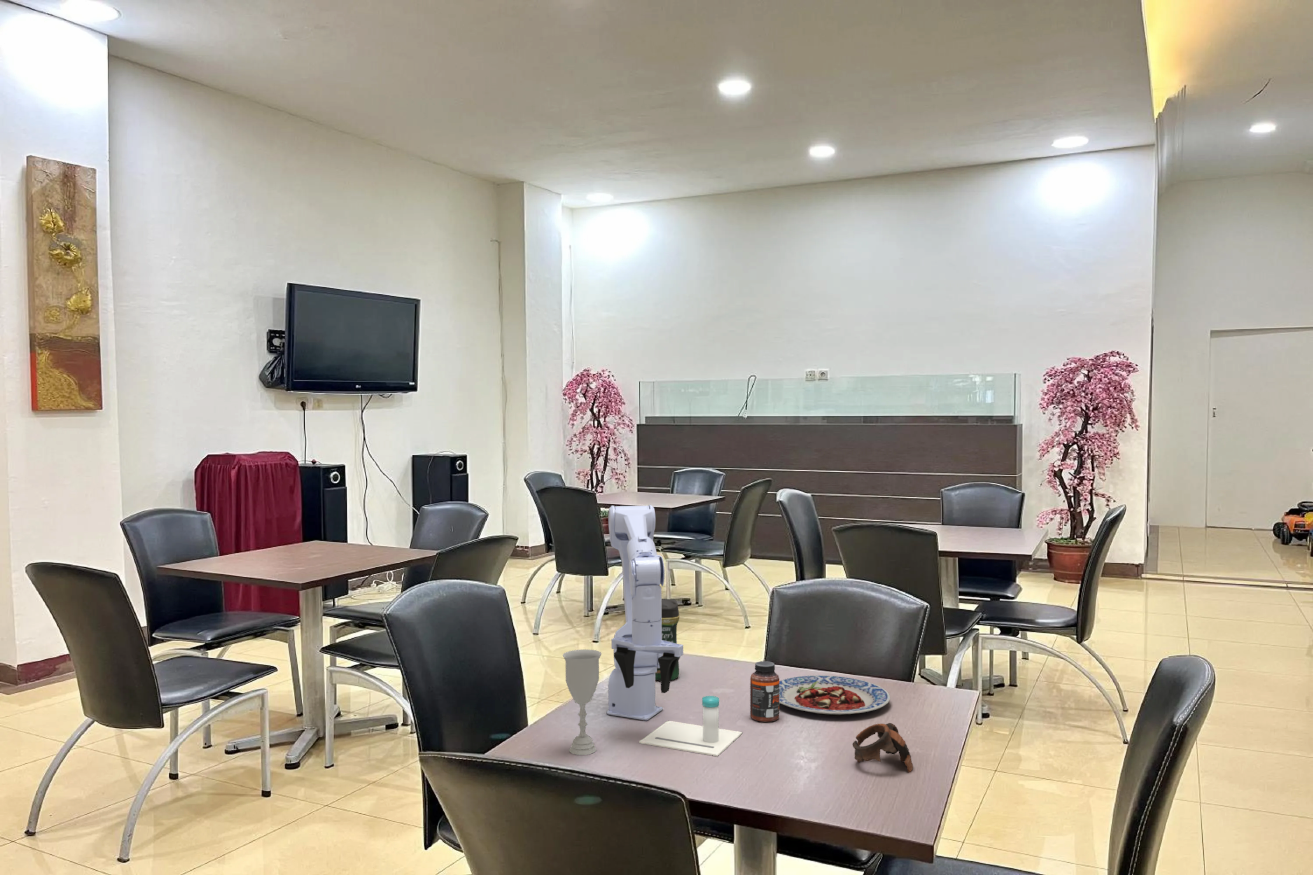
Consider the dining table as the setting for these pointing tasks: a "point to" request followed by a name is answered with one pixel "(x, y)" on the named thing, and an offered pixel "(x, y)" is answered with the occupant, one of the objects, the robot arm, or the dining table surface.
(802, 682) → the ceramic plate
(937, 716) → the dining table surface
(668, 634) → the coffee jar
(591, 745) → the chalice
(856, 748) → the brown curved ring piece
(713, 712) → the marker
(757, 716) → the supplement bottle
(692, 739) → the paper
